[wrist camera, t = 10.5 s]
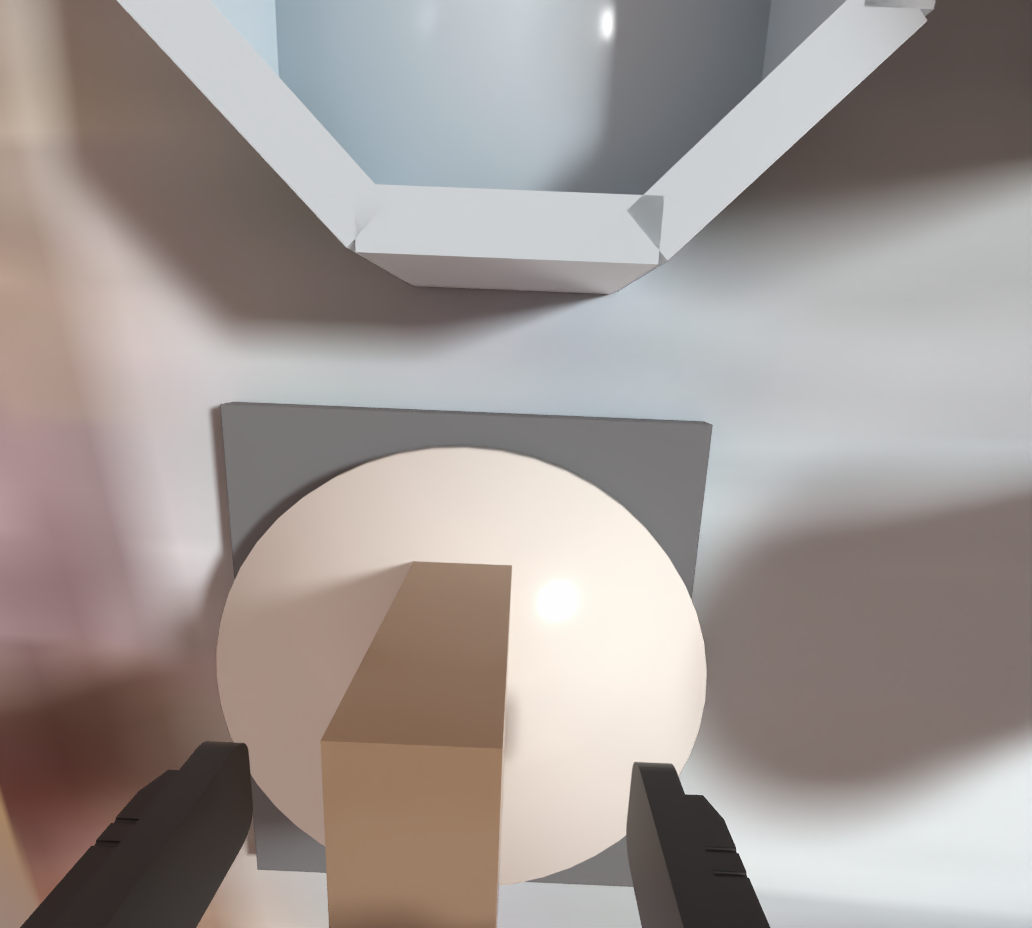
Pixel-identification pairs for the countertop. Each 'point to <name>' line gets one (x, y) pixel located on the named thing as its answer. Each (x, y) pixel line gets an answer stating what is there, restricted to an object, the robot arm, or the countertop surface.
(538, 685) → the lid
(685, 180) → the bowl
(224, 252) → the countertop surface
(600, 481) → the mat
